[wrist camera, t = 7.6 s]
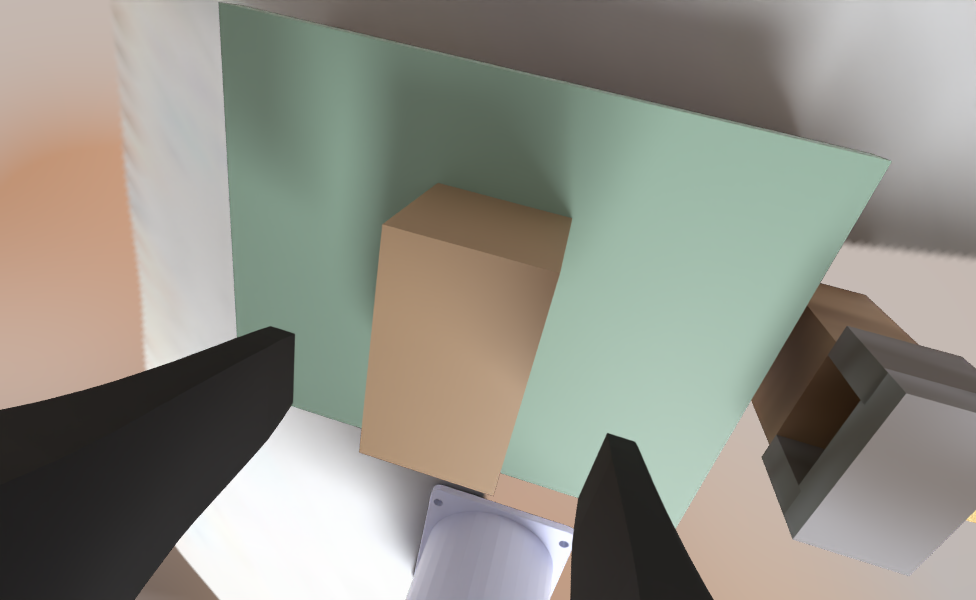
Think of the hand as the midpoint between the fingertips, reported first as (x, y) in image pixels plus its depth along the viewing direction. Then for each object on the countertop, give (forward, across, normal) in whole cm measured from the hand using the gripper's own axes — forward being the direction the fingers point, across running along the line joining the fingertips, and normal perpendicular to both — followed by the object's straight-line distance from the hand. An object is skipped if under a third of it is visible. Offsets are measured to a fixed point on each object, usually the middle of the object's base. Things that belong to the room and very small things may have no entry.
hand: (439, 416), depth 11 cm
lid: (+6, 0, 0) cm, 6 cm away
